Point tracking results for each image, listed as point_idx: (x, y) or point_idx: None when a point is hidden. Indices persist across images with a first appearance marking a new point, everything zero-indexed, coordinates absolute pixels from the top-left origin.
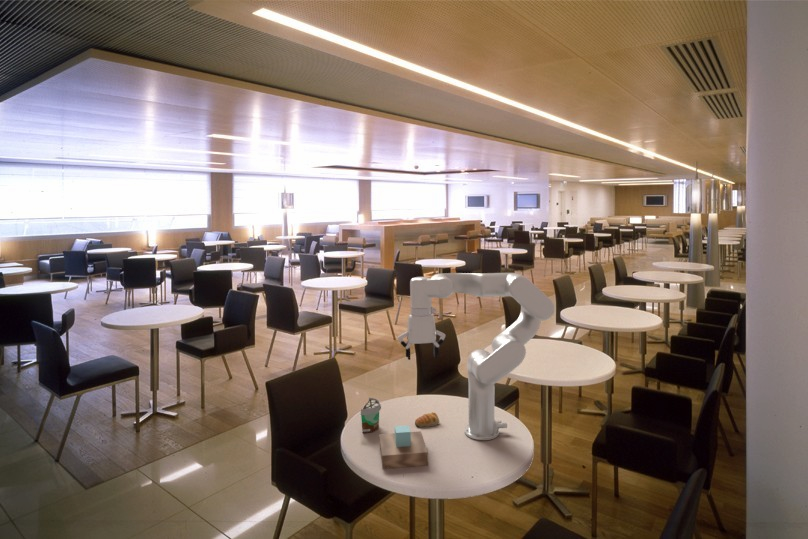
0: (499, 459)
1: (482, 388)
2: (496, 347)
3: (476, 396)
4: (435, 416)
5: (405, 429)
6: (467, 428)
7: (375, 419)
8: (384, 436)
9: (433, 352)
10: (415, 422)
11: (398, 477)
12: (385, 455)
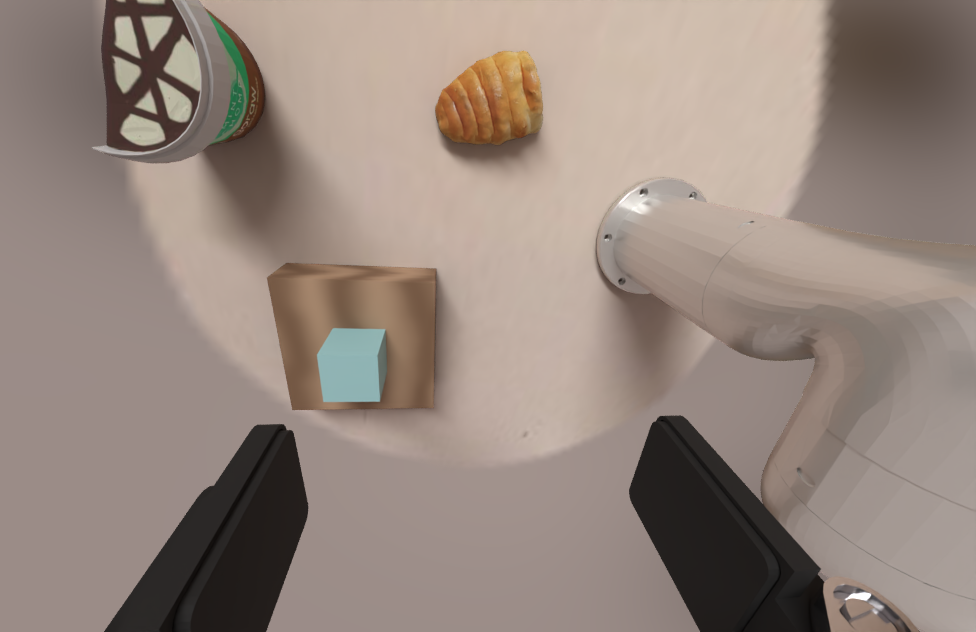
0: (616, 382)
1: (770, 360)
2: None
3: (713, 334)
4: (532, 114)
5: (361, 383)
6: (617, 220)
7: (226, 130)
8: (290, 297)
9: (683, 453)
10: (437, 114)
11: (351, 421)
12: (303, 409)
